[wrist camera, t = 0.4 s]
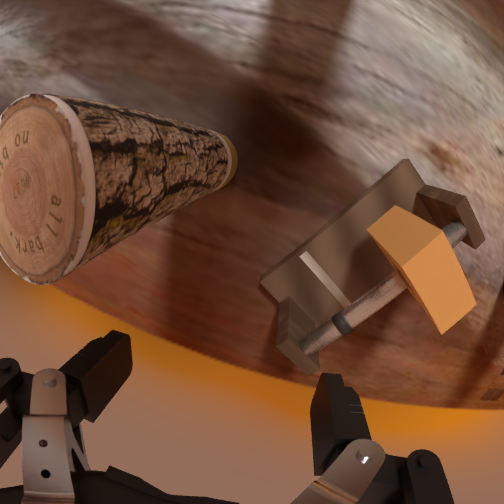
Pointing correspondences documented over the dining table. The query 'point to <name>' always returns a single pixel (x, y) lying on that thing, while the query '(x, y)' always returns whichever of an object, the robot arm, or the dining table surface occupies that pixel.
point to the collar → (425, 265)
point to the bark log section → (94, 178)
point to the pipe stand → (355, 264)
